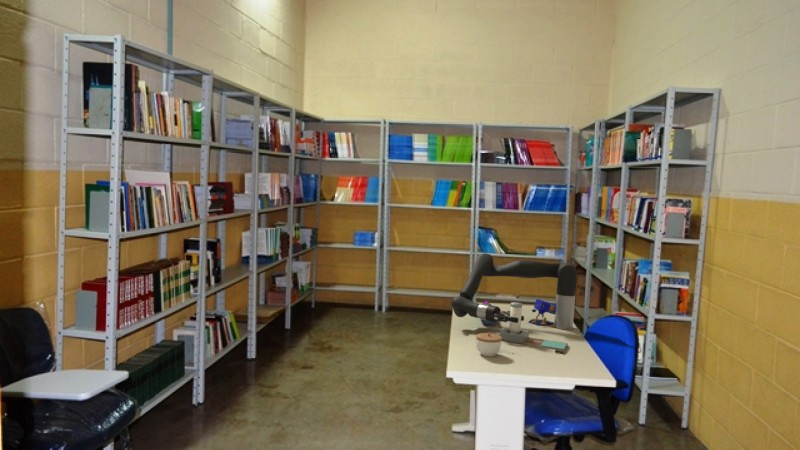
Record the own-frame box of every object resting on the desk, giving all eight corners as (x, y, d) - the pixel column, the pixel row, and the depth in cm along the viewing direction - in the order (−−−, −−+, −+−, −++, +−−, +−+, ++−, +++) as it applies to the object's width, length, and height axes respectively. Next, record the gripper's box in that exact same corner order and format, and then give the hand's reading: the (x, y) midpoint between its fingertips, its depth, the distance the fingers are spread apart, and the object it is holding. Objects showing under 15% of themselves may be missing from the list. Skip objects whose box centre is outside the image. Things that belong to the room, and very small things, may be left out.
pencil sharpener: (566, 327, 294) (568, 303, 293) (532, 326, 293) (534, 302, 292) (557, 320, 309) (558, 297, 308) (524, 319, 307) (526, 296, 306)
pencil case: (498, 328, 285) (499, 310, 284) (480, 328, 286) (481, 309, 285) (493, 318, 306) (494, 301, 305) (476, 318, 306) (477, 300, 306)
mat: (544, 340, 262) (544, 340, 262) (567, 344, 258) (567, 343, 258) (540, 346, 253) (540, 345, 253) (563, 349, 249) (563, 349, 249)
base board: (503, 335, 272) (503, 333, 272) (567, 345, 260) (567, 343, 260) (495, 342, 260) (495, 340, 259) (562, 353, 247) (562, 351, 247)
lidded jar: (506, 356, 239) (507, 334, 239) (485, 359, 234) (487, 337, 233) (489, 349, 249) (491, 328, 248) (470, 352, 243) (471, 330, 243)
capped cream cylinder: (510, 335, 266) (512, 301, 265) (521, 337, 264) (523, 303, 263) (507, 338, 262) (509, 303, 260) (518, 339, 259) (520, 305, 258)
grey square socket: (505, 334, 270) (505, 326, 270) (528, 338, 266) (529, 330, 265) (499, 339, 260) (499, 331, 260) (523, 343, 256) (524, 335, 255)
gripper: (495, 318, 277) (527, 325, 266) (480, 323, 266) (512, 330, 255) (496, 303, 276) (528, 309, 266) (481, 307, 265) (513, 314, 255)
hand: (520, 319), depth 260 cm, fingers closed on capped cream cylinder, 5 cm apart
